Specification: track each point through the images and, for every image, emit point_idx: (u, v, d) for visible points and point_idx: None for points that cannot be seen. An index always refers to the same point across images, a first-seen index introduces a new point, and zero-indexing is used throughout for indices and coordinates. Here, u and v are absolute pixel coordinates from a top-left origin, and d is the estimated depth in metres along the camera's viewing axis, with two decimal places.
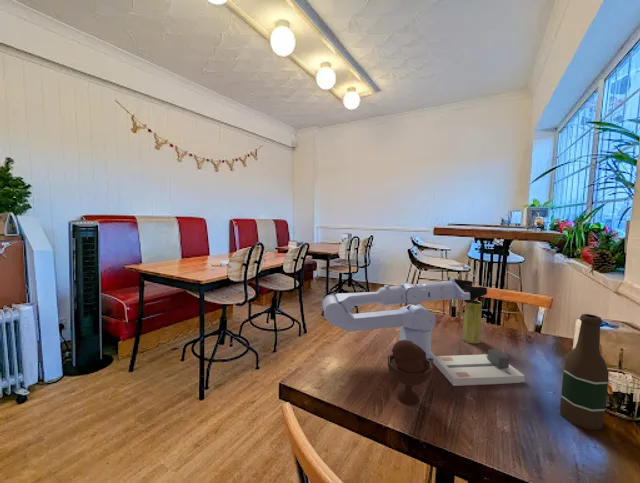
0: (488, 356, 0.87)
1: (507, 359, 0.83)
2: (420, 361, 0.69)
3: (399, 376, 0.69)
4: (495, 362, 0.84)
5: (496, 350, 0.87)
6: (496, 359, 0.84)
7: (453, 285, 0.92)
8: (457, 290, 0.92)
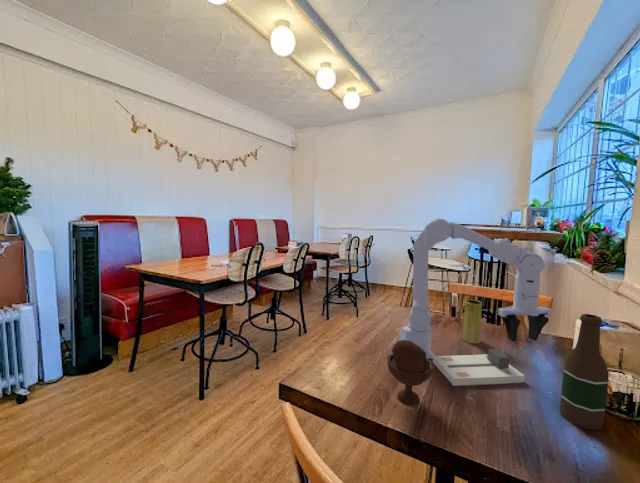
0: (488, 356, 0.87)
1: (507, 359, 0.83)
2: (420, 361, 0.69)
3: (399, 376, 0.69)
4: (495, 362, 0.84)
5: (496, 350, 0.87)
6: (496, 359, 0.84)
7: (524, 310, 0.82)
8: (516, 310, 0.83)
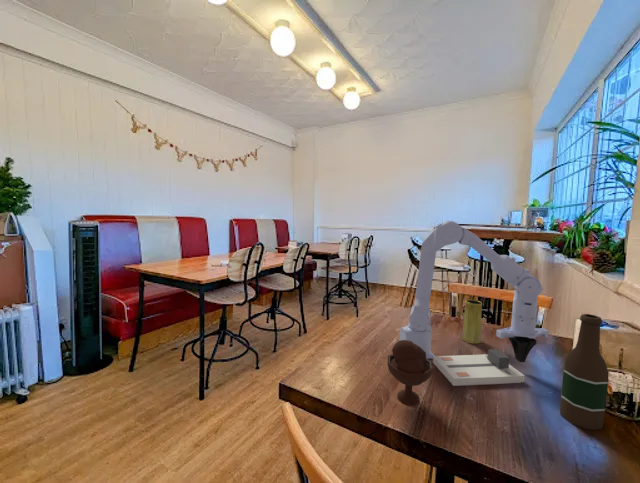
0: (488, 356, 0.87)
1: (507, 359, 0.83)
2: (420, 361, 0.69)
3: (399, 376, 0.69)
4: (495, 362, 0.84)
5: (496, 350, 0.87)
6: (496, 359, 0.84)
7: (521, 332, 0.83)
8: (514, 332, 0.84)
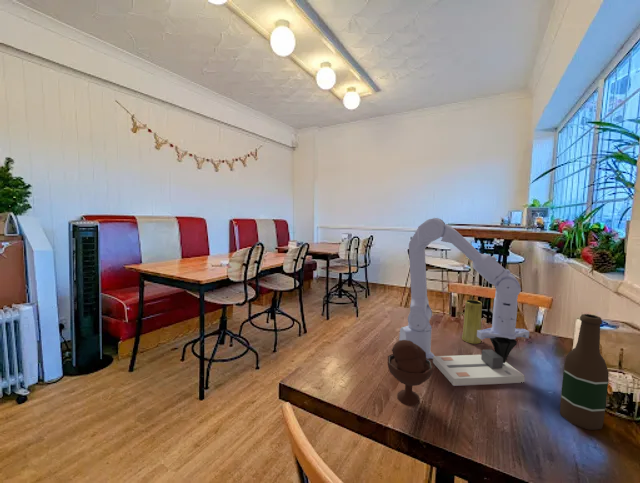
0: (482, 356, 0.87)
1: (501, 359, 0.83)
2: (420, 361, 0.69)
3: (399, 376, 0.69)
4: (489, 362, 0.84)
5: (490, 350, 0.87)
6: (490, 360, 0.84)
7: (501, 333, 0.82)
8: (494, 333, 0.84)
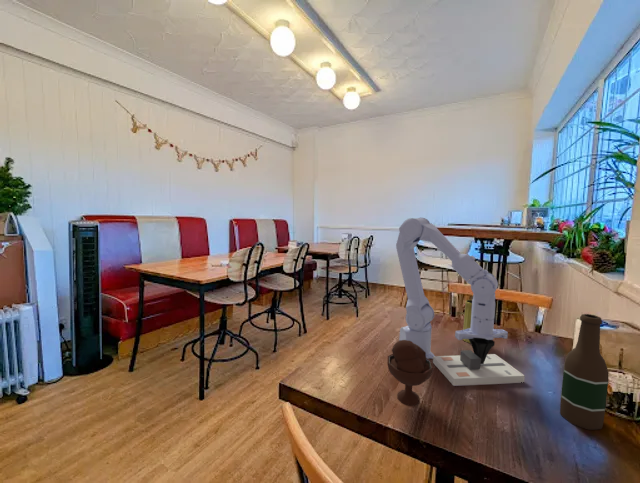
0: (461, 357, 0.87)
1: (479, 360, 0.82)
2: (420, 361, 0.69)
3: (399, 376, 0.69)
4: (467, 363, 0.84)
5: (469, 351, 0.86)
6: (468, 360, 0.83)
7: (479, 333, 0.82)
8: (472, 333, 0.83)
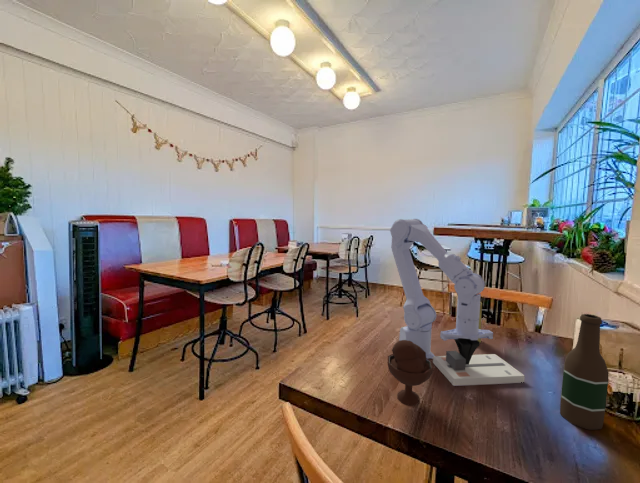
0: (446, 358, 0.86)
1: (463, 361, 0.82)
2: (420, 361, 0.69)
3: (399, 376, 0.69)
4: (452, 364, 0.83)
5: (454, 351, 0.86)
6: (453, 361, 0.83)
7: (464, 334, 0.81)
8: (457, 334, 0.83)
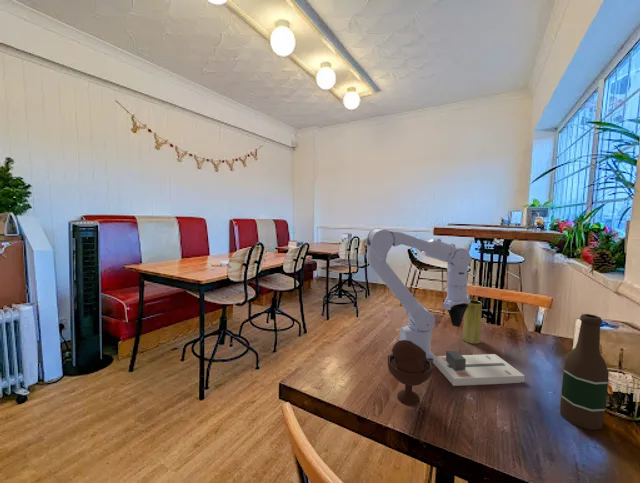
0: (446, 358, 0.86)
1: (463, 361, 0.82)
2: (420, 361, 0.69)
3: (399, 376, 0.69)
4: (452, 364, 0.83)
5: (454, 351, 0.86)
6: (453, 361, 0.83)
7: (460, 299, 0.91)
8: (454, 301, 0.92)
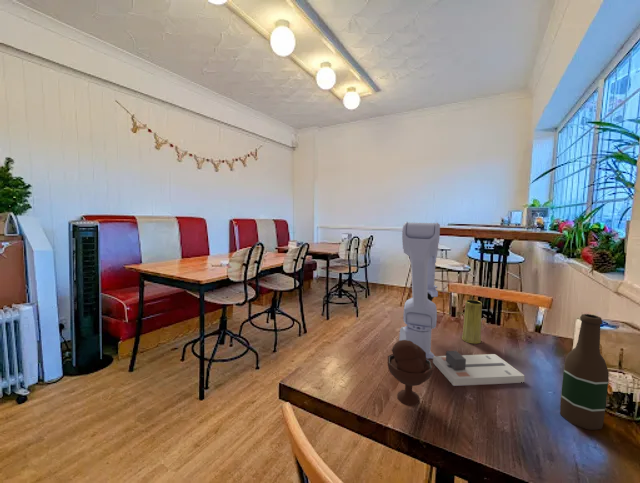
0: (446, 358, 0.86)
1: (463, 361, 0.82)
2: (420, 361, 0.69)
3: (399, 376, 0.69)
4: (452, 364, 0.83)
5: (454, 351, 0.86)
6: (453, 361, 0.83)
7: (433, 286, 1.07)
8: (431, 289, 1.06)
